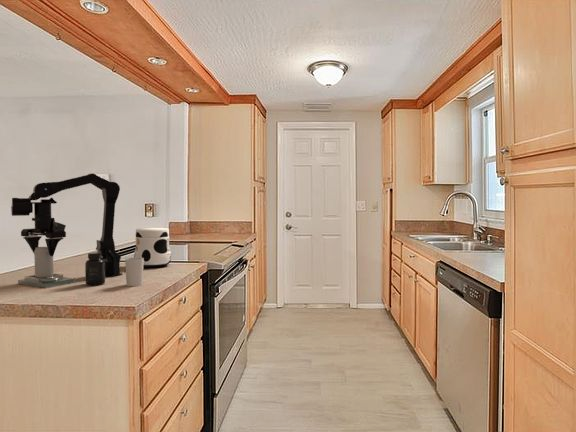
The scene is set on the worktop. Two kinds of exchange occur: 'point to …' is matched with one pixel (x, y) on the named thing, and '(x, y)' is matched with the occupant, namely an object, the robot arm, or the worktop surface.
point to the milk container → (153, 246)
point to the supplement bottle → (95, 269)
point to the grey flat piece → (46, 281)
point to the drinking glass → (134, 271)
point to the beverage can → (43, 263)
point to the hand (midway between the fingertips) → (43, 255)
